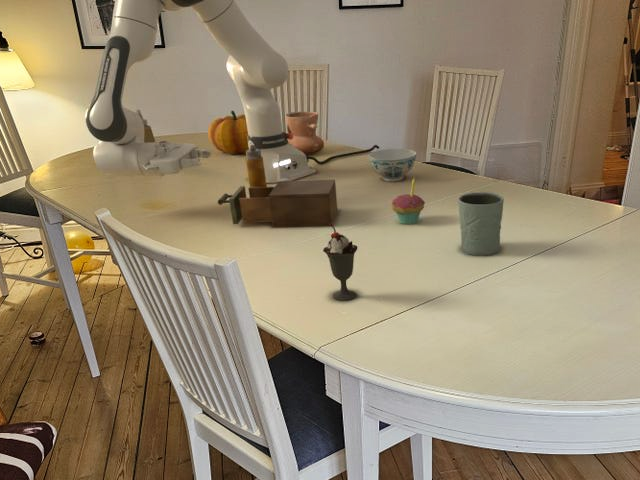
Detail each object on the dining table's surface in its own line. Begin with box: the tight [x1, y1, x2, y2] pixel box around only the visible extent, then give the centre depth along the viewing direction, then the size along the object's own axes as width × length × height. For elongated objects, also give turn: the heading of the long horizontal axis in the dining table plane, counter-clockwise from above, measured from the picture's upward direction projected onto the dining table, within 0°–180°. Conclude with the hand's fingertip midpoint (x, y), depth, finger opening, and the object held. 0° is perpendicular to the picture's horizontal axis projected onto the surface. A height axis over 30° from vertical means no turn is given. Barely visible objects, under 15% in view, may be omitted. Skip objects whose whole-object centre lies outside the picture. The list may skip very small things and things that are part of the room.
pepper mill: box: [245, 145, 268, 187], centre depth 183 cm, size 5×5×17 cm
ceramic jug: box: [284, 111, 325, 156], centre depth 242 cm, size 18×14×14 cm
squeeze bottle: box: [135, 109, 156, 143], centre depth 244 cm, size 8×8×18 cm
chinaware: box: [368, 148, 417, 182], centre depth 206 cm, size 15×15×8 cm
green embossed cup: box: [457, 191, 505, 257], centre depth 147 cm, size 10×10×12 cm
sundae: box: [322, 223, 358, 302], centre depth 127 cm, size 7×7×15 cm
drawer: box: [217, 185, 275, 225], centre depth 175 cm, size 19×12×7 cm, turn 87°
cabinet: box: [269, 179, 338, 228], centre depth 174 cm, size 16×14×9 cm
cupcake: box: [391, 175, 426, 225], centre depth 167 cm, size 9×8×12 cm
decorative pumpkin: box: [207, 110, 249, 155], centre depth 250 cm, size 20×22×15 cm
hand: (204, 157), depth 176 cm, fingers open, 8 cm apart
